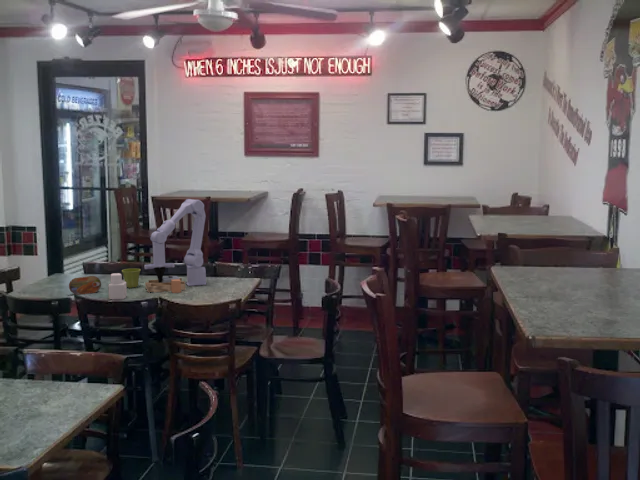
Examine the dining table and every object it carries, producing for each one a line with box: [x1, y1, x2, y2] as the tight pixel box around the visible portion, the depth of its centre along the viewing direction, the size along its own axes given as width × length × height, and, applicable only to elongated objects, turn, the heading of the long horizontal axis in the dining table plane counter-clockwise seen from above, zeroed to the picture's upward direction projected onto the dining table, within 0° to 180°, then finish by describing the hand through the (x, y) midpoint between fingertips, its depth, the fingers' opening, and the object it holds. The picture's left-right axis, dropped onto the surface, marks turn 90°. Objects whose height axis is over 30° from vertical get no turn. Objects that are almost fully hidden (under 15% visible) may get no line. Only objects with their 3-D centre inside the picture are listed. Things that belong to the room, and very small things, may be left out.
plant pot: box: [121, 268, 141, 289], centre depth 362 cm, size 9×9×9 cm
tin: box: [68, 275, 102, 296], centre depth 346 cm, size 15×3×8 cm, turn 122°
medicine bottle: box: [107, 272, 128, 300], centre depth 335 cm, size 7×7×12 cm
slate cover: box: [162, 275, 181, 283], centre depth 356 cm, size 8×8×4 cm
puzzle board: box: [144, 277, 186, 294], centre depth 355 cm, size 18×12×4 cm, turn 111°
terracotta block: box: [171, 279, 182, 294], centre depth 348 cm, size 4×4×6 cm
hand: (160, 282), depth 354 cm, fingers closed
